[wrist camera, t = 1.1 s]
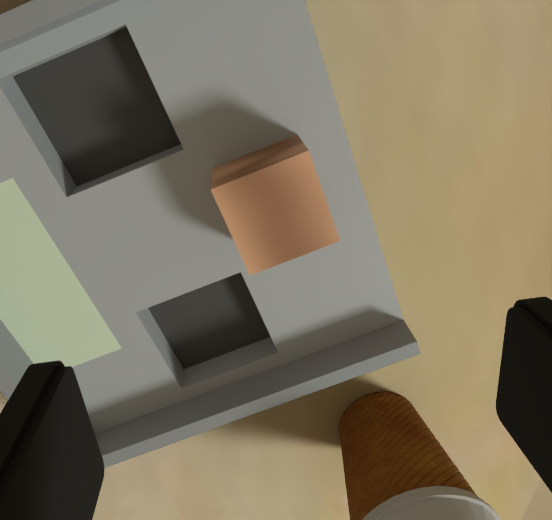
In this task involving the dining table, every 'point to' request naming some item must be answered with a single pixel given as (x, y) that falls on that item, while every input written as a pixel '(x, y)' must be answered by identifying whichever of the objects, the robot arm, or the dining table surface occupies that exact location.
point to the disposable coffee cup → (401, 466)
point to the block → (273, 204)
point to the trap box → (174, 216)
